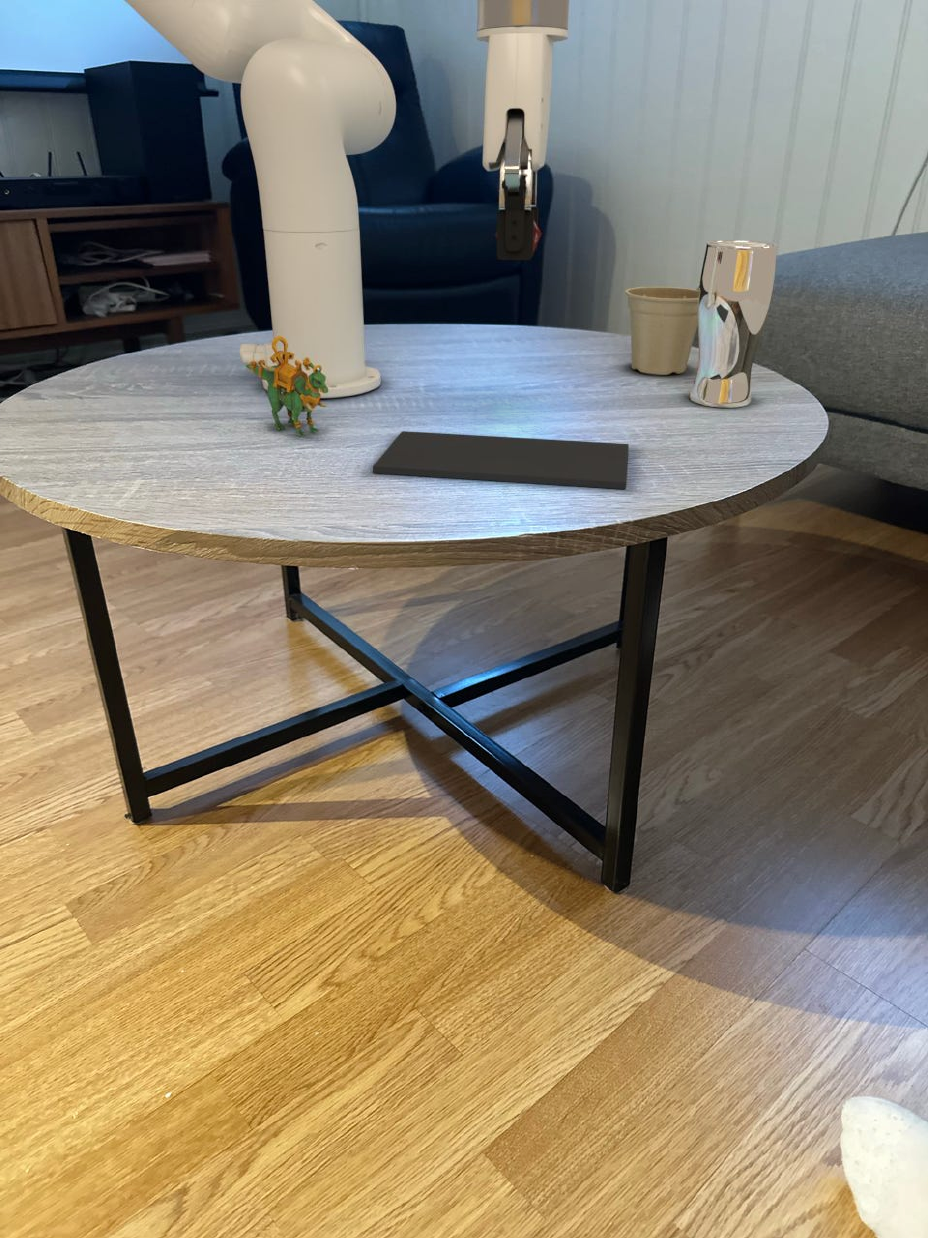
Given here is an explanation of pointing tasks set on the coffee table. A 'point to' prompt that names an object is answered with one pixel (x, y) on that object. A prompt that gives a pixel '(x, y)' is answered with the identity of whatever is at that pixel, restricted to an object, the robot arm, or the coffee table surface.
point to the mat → (507, 459)
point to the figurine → (291, 386)
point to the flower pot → (662, 328)
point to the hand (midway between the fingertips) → (517, 253)
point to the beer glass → (731, 319)
